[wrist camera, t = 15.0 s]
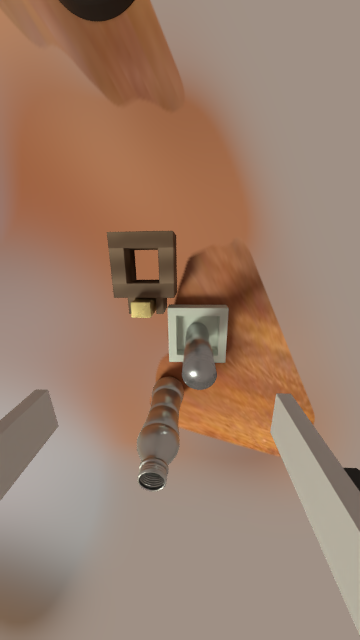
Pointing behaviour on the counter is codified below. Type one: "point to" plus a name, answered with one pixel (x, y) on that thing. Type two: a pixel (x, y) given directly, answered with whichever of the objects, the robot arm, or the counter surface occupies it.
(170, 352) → the tray
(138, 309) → the brass block
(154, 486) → the plastic bottle
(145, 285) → the socket block
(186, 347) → the grey metal peg
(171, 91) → the counter surface
